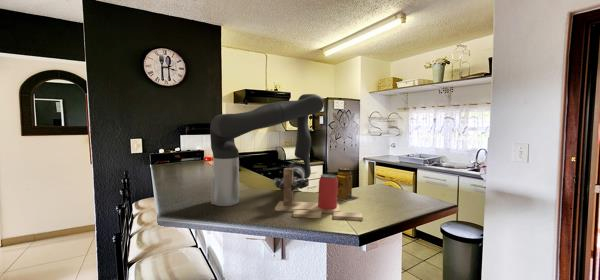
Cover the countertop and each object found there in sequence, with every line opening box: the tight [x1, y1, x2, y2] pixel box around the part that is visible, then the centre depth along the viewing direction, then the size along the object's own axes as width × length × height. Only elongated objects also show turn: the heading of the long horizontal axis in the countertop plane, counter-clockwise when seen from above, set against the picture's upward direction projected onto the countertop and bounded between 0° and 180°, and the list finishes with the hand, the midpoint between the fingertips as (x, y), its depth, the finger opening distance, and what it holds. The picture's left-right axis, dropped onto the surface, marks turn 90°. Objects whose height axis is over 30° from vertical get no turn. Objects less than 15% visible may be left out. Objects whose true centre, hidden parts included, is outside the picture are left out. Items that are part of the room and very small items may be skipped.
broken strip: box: [292, 210, 364, 221], centre depth 85 cm, size 22×4×1 cm, turn 83°
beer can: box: [317, 173, 338, 210], centre depth 92 cm, size 7×7×12 cm
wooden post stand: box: [274, 167, 341, 215], centre depth 92 cm, size 22×8×14 cm, turn 83°
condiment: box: [336, 167, 359, 202], centre depth 107 cm, size 7×8×12 cm
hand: (287, 187), depth 90 cm, fingers closed on wooden post stand, 3 cm apart
